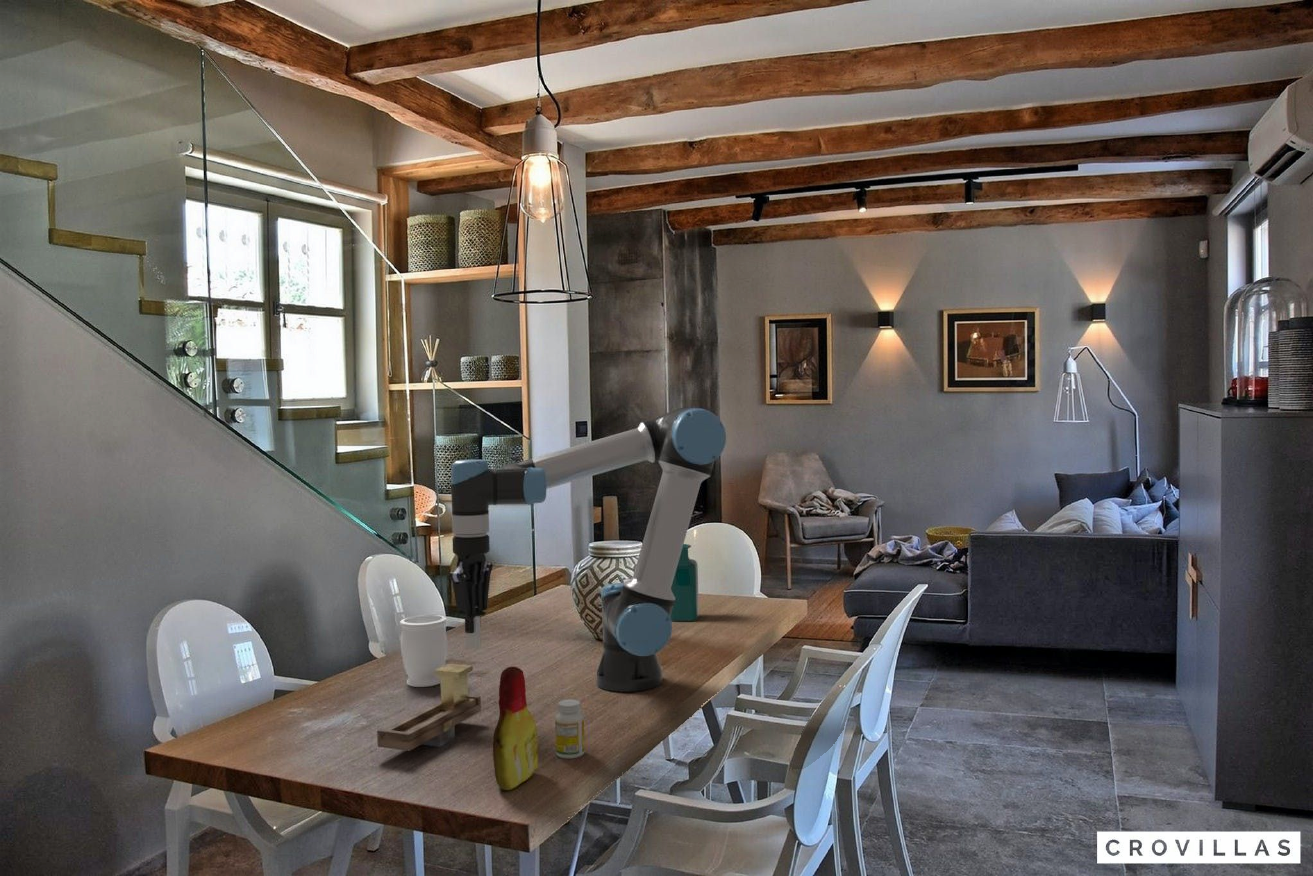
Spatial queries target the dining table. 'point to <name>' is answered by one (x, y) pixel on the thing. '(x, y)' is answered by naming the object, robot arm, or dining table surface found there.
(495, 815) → the dining table surface
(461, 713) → the brown long rectangular frame
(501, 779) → the bottle
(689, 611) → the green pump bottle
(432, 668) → the jar
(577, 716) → the supplement bottle
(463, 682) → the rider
